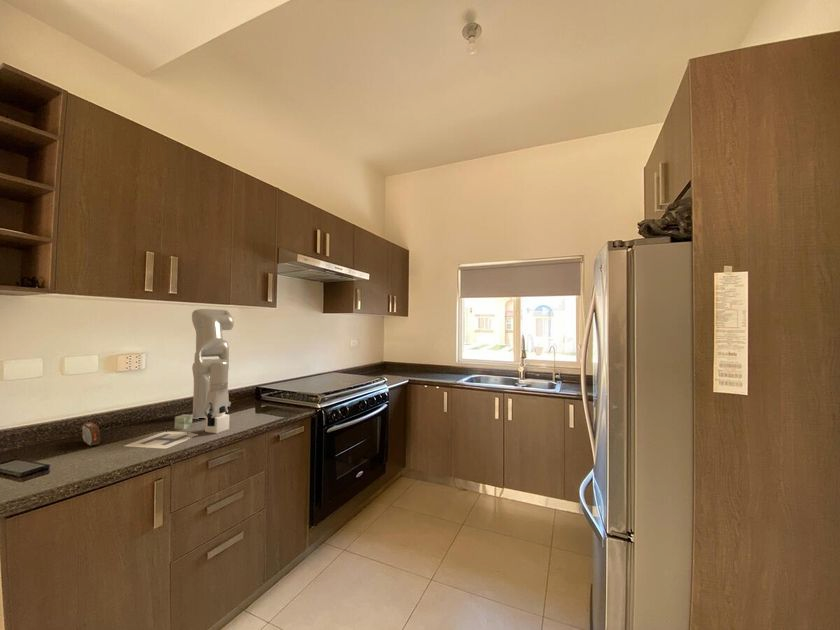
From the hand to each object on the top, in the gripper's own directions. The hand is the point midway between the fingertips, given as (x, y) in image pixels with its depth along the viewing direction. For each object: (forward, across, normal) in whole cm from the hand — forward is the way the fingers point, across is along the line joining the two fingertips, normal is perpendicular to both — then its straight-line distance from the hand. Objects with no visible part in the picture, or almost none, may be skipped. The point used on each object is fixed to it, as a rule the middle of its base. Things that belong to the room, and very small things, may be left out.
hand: (217, 423), depth 160 cm
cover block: (+4, -2, -20) cm, 20 cm away
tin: (+4, +23, -41) cm, 47 cm away
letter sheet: (+4, +14, -14) cm, 20 cm away
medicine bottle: (+4, 0, 0) cm, 4 cm away
